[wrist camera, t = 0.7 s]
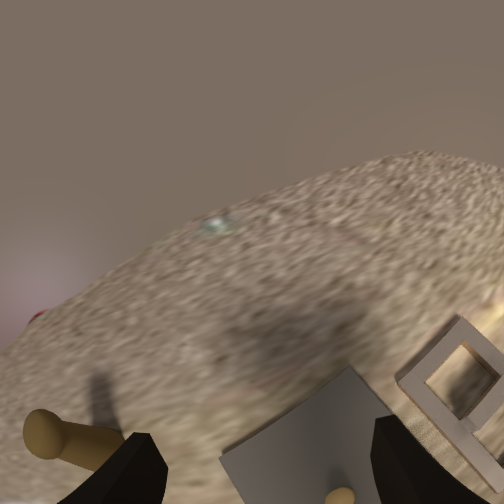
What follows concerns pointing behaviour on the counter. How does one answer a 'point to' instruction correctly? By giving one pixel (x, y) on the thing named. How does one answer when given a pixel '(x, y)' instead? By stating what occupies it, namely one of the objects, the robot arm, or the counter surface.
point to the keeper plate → (313, 450)
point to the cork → (69, 440)
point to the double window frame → (478, 413)
